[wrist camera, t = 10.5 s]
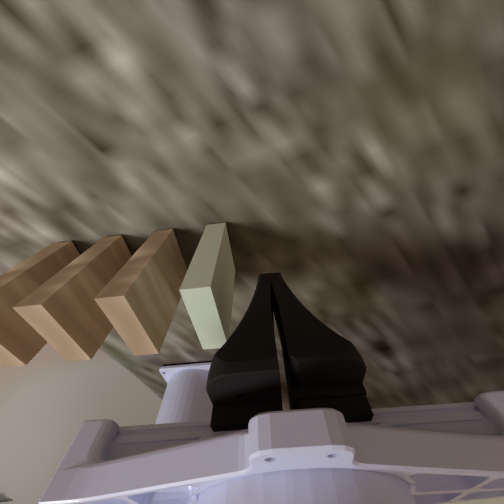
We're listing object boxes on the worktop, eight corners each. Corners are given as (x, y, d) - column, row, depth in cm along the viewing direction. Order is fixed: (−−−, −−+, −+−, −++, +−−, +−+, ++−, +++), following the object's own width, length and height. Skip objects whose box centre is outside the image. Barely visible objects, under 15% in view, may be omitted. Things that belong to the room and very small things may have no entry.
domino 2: (121, 235, 18) (40, 304, 11) (144, 280, 20) (91, 359, 13) (103, 237, 18) (11, 307, 11) (128, 282, 20) (67, 361, 13)
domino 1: (71, 241, 18) (-39, 312, 11) (100, 285, 20) (26, 365, 14) (53, 243, 18) (-67, 315, 11) (84, 286, 20) (3, 367, 14)
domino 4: (225, 222, 17) (210, 286, 10) (235, 270, 20) (228, 347, 13) (206, 224, 17) (179, 289, 10) (218, 272, 20) (203, 349, 13)
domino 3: (172, 228, 17) (123, 295, 10) (189, 275, 20) (158, 353, 13) (154, 231, 17) (93, 298, 11) (173, 277, 20) (134, 355, 13)
